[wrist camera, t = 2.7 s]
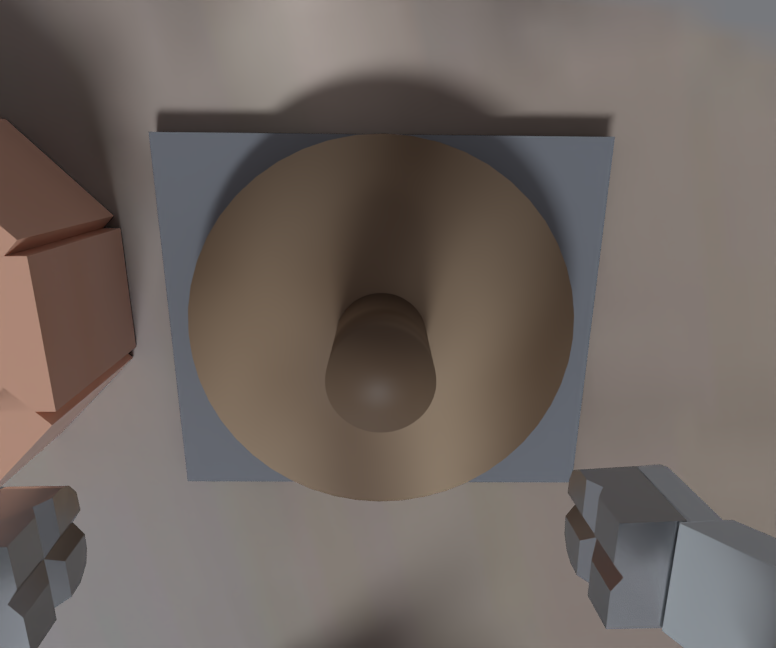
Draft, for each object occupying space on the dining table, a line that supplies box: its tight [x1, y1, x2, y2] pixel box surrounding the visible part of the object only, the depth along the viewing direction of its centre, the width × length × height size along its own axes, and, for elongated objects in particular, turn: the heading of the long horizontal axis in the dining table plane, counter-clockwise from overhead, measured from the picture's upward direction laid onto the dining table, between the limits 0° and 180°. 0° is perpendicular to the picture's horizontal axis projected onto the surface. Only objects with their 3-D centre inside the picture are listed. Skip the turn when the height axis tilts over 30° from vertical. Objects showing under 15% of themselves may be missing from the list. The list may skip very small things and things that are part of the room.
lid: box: [188, 133, 574, 501], centre depth 16 cm, size 12×12×5 cm
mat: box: [149, 132, 615, 482], centre depth 19 cm, size 14×12×1 cm
